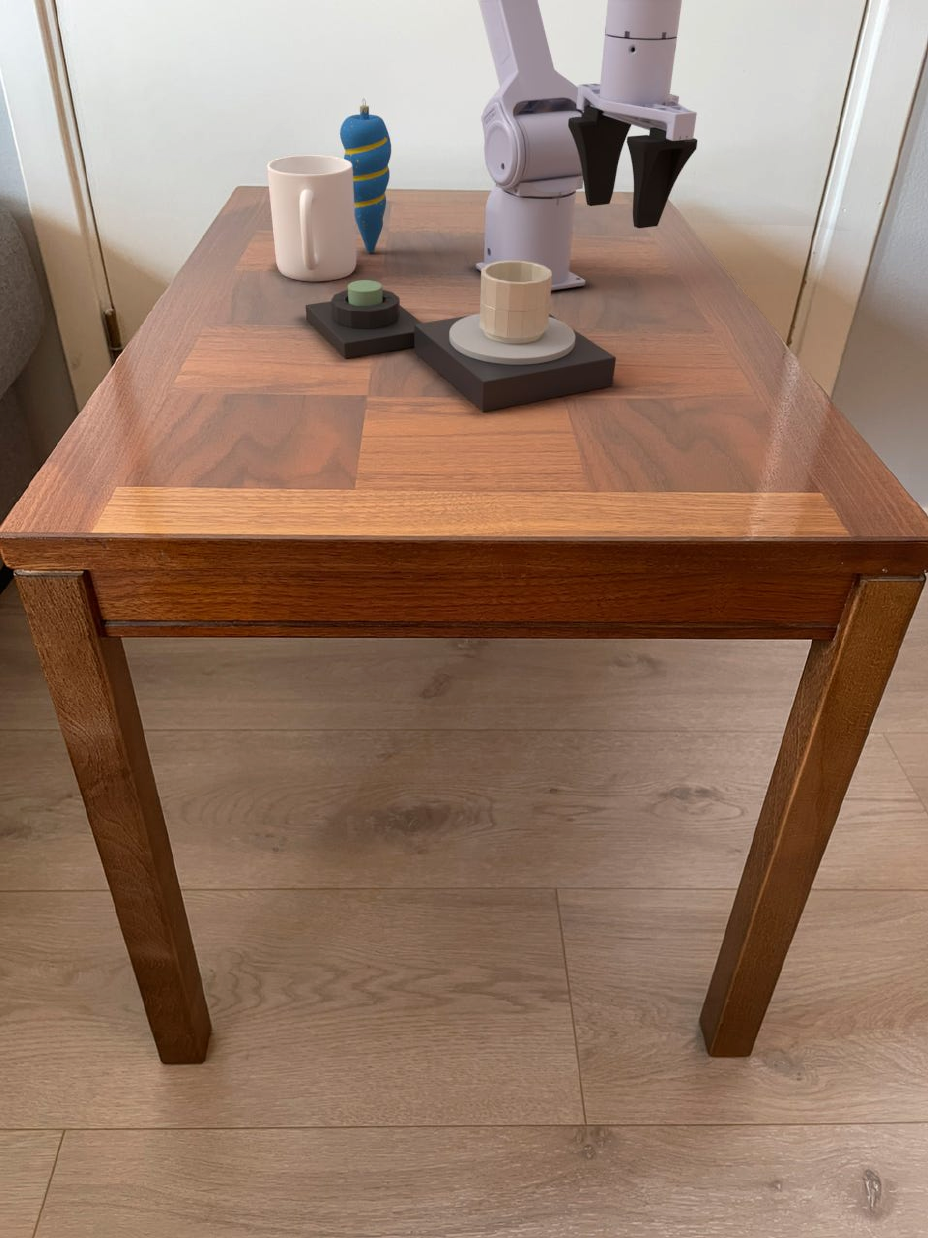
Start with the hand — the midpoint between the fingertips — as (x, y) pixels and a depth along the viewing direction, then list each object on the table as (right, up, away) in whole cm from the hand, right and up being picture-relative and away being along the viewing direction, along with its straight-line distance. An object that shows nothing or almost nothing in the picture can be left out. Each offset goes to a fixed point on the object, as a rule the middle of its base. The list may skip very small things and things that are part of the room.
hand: (621, 214), depth 85 cm
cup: (-29, 0, +15) cm, 33 cm away
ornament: (-24, +4, +21) cm, 32 cm away
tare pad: (-23, -10, +3) cm, 25 cm away
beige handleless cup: (-10, -12, -5) cm, 16 cm away
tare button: (-23, -7, +1) cm, 24 cm away
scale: (-10, -14, -3) cm, 18 cm away
